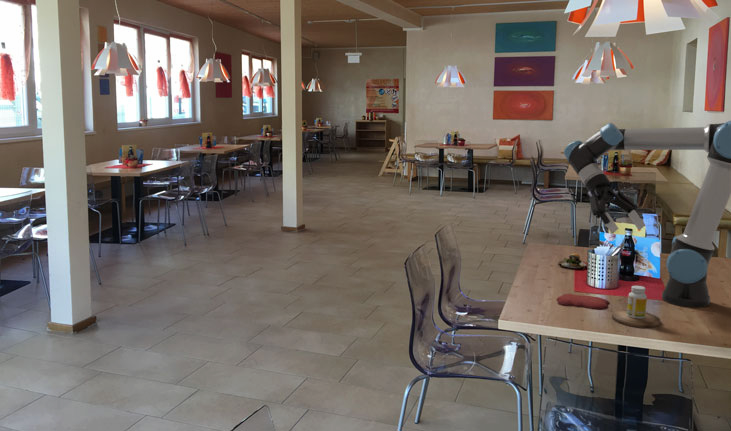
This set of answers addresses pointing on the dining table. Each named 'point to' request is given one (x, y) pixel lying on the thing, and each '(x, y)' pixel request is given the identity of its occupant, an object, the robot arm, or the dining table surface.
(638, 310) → the supplement bottle
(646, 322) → the plate
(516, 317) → the dining table surface
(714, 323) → the dining table surface
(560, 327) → the dining table surface
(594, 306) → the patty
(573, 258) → the burger
